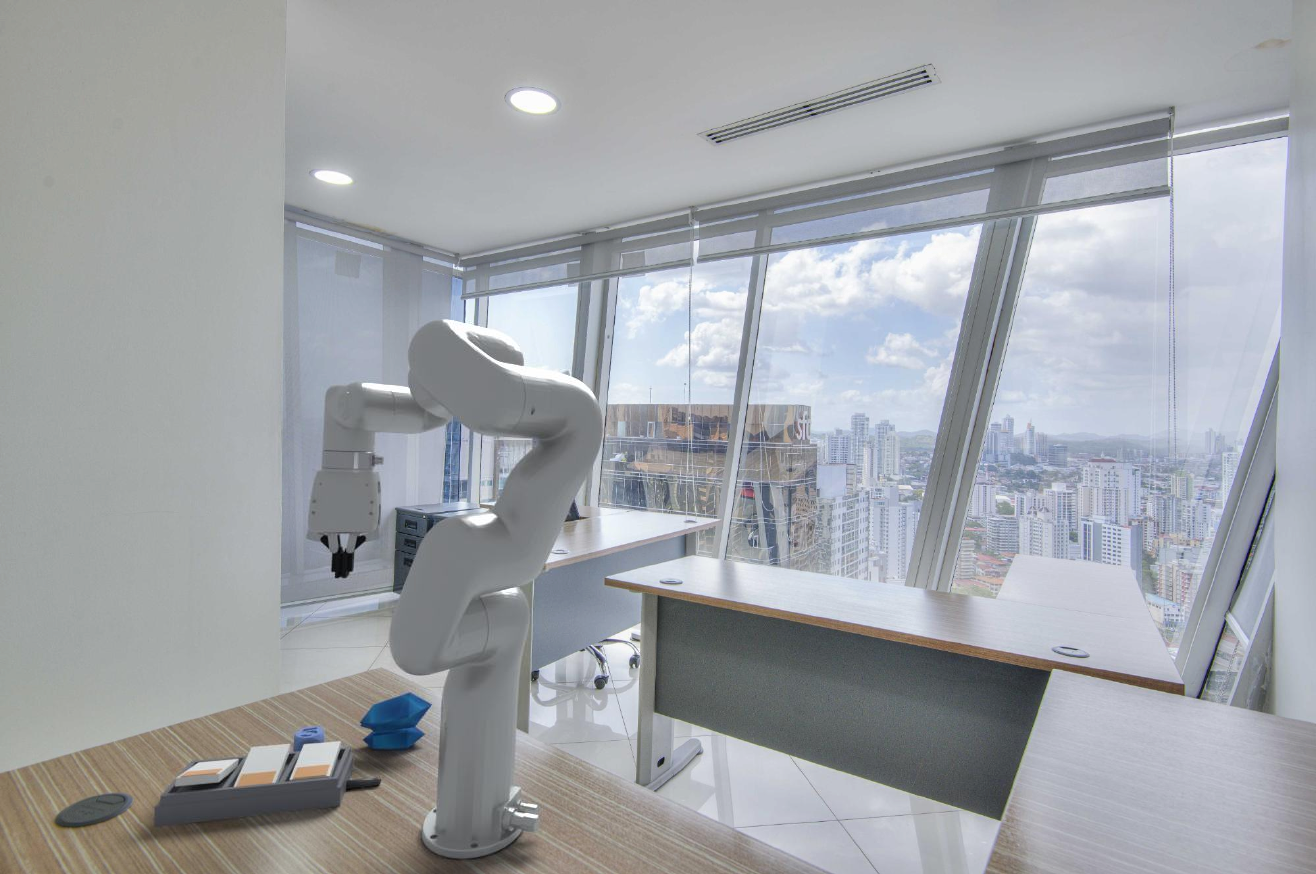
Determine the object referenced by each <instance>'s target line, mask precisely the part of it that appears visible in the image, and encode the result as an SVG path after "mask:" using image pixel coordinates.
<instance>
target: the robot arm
mask: <svg viewBox="0 0 1316 874" xmlns="http://www.w3.org/2000/svg"><path fill="white" fill-rule="evenodd" d="M407 359H408V366H409V370H408V373H407V384H408V385H407V386H403V385H394V384H385V383H384V384H383V383H375V382H365V381H362V382H361V381H358V382H352V383H349V384H345V385H344V384H341V385H340V384H337V385H333V386H329V387H328V389H327V390H326V392H325V394H324V410H323V411H324V412H323V429H322V430H323V433H322V446H321V447H322V449H321V451H322V452H321V469H318V470H316V472H315V475H314V480H313V483H312V488H311V495H310V499H309V500H310V501H309V507H308V514H307V528H308V530H307V532H306V536H305V537H306V539H307V540H308V541H314V542H319V543H322V544H323V546H325V547H326V548H327V549H328V550H329V552H330V553H331V565H330V567H331V568H330V569H331V571H330V572H331V573H334V579H340V578H341V579H347V578H348V577H349V576H350V573H352V572H354V567H355V551H356V550H357V549H358V548H359V547H360V546H362V545H363V544H364V543H366V542H368V543H369V542H372V541H377V540H379V539H380V538H381V536H382V534H381V529H380V526H381V521H382V489H381V479H380V478H381V477H380V472H379V471H375V470H374V468H375V467H376V466H379V465H381V466H382V465H384V459H385V458H384V456H379V455H377V454H376V452H375V446H376V433H386V434H387V433H390V434H391V433H392V434H409V435H412V434H417V435H418V434H423V433H427V432H430V431H433V430H436V429H439V428H442V427H444V426H447V425H448V424H449V423H451V422H452V420H453V419H454V418H455V420H456V421H458V422H459V423H460V424H462V426H464V427H465V428H466V429H468V430H470V431H472V432H474V433H477V434H478V435H481V436H486V437H494V438H514V439H517V438H518V439H533V440H534V439H536V444H535V445H534V447H532V449H531V450H529V451H528V452H527V453H526V454H525V455H524V456H522V458H521V459H519V461H518V462H517V463H516V464H515V466H514V467H513V468H512V470H511V471H510V472H509V474H508V475H507V477H506V479H505V482H504V484H503V487H502V490H501V492H500V494H499V496H498V498H497V500H496V502H495V503H494V504H493V506H492V507H491V509H488V510H486V511H484V512H478V513H477V512H476V513H464V514H458V515H451V516H449V517H446V518H444V519H442V520H440V521H438V522H437V523H436V524H434V525H433V526H432V527H431V528H430V529H429V530H428V532H427V533H426V534H425V536H424V537H423V538H422V540H421V542H420V545H419V546H418V548H417V551H416V553H415V555H414V558H413V562H412V564H411V566H410V569H409V572H408V574H407V575H406V579H405V581H404V584H403V587H402V590H401V591H400V595H399V597H398V600H397V602H396V605H395V608H394V610H393V613H392V617H391V622H390V625H389V635H388V636H389V637H388V643H389V650H390V654H391V657H392V660H393V661H394V663H395V664H396V665H397V667H398V668H399V669H400V670H401V671H403V672H404V673H406V674H409V675H410V676H411V675H412V676H419V677H420V676H430V675H434V674H439V673H442V672H445V671H448V672H447V675H446V678H445V681H444V684H443V689H442V693H441V704H440V705H441V706H440V722H439V723H440V727H439V745H438V746H439V748H438V766H437V767H438V769H437V784H436V785H437V786H436V787H437V789H436V806H435V807H433V808H432V809H431V810H430V811H429V812H428V814H427V815H426V816H425V818H424V820H423V822H422V826H421V827H422V828H421V838H422V842H423V843H424V845H425V847H427V849H429V850H430V851H431V852H433V853H435V854H436V855H439V856H442V857H445V858H451V859H473V858H480V857H484V856H488V855H491V854H493V853H496V852H498V851H500V850H502V849H505V848H506V847H507V846H509V845H510V844H511V843H512V842H514V841H515V839H517V838H518V837H519V836H520V834H521V833H522V831H524V832H529V833H534V834H537V833H538V831H539V828H540V826H541V821H542V820H541V815H540V814H539V811H540V805H539V804H537V803H532V802H530V803H528V802H524V800H523V799H521V798H522V797H521V796H522V795H521V794H522V787H521V786H516V785H515V770H516V769H515V768H516V765H515V764H516V748H517V746H516V744H517V743H516V742H517V726H518V725H517V724H518V706H519V688H520V675H521V665H522V660H523V659H522V658H523V654H524V649H525V644H526V641H527V637H528V632H529V628H530V627H529V626H530V619H531V618H530V617H531V613H530V612H531V610H530V606H529V601H528V599H527V596H526V594H525V593H524V592H523V590H522V589H521V587H522V586H525V585H528V584H529V583H531V582H533V581H534V580H535V579H537V578H538V577H539V576H540V573H541V572H542V571H543V569H544V568H545V566H546V564H547V561H548V559H549V557H550V554H551V553H552V550H553V549H554V545H555V543H556V541H557V539H558V537H559V535H560V533H561V530H562V528H563V526H564V524H565V521H566V520H567V517H568V514H569V513H570V509H571V507H572V505H573V503H574V501H575V499H576V497H577V494H578V493H579V491H580V490H581V488H582V486H583V484H584V482H585V481H586V478H587V477H588V475H589V473H590V471H591V469H592V468H593V466H594V464H595V462H596V460H597V457H598V455H599V451H600V449H601V445H602V440H603V436H604V435H603V434H604V424H603V415H602V410H601V407H600V404H599V401H598V399H597V397H596V395H595V394H594V392H593V391H592V390H591V389H590V388H589V386H587V385H586V384H585V383H584V382H582V381H581V380H579V379H578V378H576V377H573V376H570V375H567V374H565V373H561V372H557V371H554V370H547V369H542V368H536V367H529V366H526V365H525V359H524V354H523V351H522V350H521V347H520V346H519V345H518V344H517V343H516V341H514V339H513V338H511V337H510V336H509V335H506V334H505V333H502V332H501V331H498V330H495V329H491V328H487V327H482V326H479V325H473V324H470V323H465V322H461V321H458V320H457V321H456V320H452V319H448V318H447V319H443V318H442V319H435V320H432V321H429V322H427V323H425V324H424V325H423V326H421V327H420V328H419V329H418V330H417V331H415V334H414V335H413V337H412V339H411V341H410V343H409V347H408V351H407ZM524 365H525V366H524ZM342 534H343V535H345V534H348V538H347V544H346V547H345V548H343V547H344V546H342V539H341V535H342Z"/></svg>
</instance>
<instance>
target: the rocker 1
mask: <svg viewBox="0 0 1316 874" xmlns="http://www.w3.org/2000/svg"><path fill="white" fill-rule="evenodd" d="M238 761H239V759H232V760H220V761H209V762H199V763H197V764H196V765H194V766H193V767H191V768H190V769H188V770H187V771H185V772H184V773H183V774H181V775H180V776H177V777H176V778H175V779H176V782H175V786H185V785H195V784H206V783H216V782H220V781H221V780H222V779H223V778H225V777H226V776H228V774H229V773H231V772H232V771H233V770H234V769H236V768H237V767H238Z"/></svg>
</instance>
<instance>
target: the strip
mask: <svg viewBox="0 0 1316 874" xmlns="http://www.w3.org/2000/svg"><path fill="white" fill-rule="evenodd" d="M300 753H301V751H297V752H293V751H290V752H289V755H288V758H287V760H286V763H285V766H284V768H283V771H282V773H281V776H280V779H279V781H278V783H268V784H258V785H248V786H238V787H234V785H235V783H236V780H237V778H238V776H239V774H240V772H241V769H242V767H243V765H244V763H245V761H246V759H247V756H248V755H240V756H232V757H220V758H219V757H218V758H207V759H206V758H205V759H195V760H191V761H190V762H189V763H188V764H187V765H186V766H185V767H184V768H183V770H182V771H181V772H179V774H178V776H180V775H181V774H183V773H184V772H185V771H187V770H188V769H190V768H191V767H193V766H194V765H196V764H197V763H199V762H209V761H220V760H232V759H239V761H238V767H237V768H236V769H234V770H233V771H232V772H231V773H229V774H228V776H226V777H225V778H223V779H222V780H221V781H220V782H216V783H206V784H195V785H185V786H175V782H176V778H175V779H174V780H173V781H172V782H171V783H170V784H169V786H168V787H167V788H166V789H165V790H164V791H163V792H162V793H161V795H160V796H159V797H160V798H159V799H160V800H159V801H158V803H156V805H155V806H154V816H153V818H154V819H153V827H154V828H155V827H163V826H164V827H165V826H173V825H180V824H181V825H182V824H191V823H192V824H193V823H199V822H211V821H218V820H220V821H221V820H227V819H235V818H236V819H237V818H244V817H255V816H262V815H263V816H264V815H272V814H280V813H282V814H283V813H291V812H300V811H307V810H317V809H326V808H334V807H341V805H342V802H343V799H344V796H345V794H346V790H347V789H353V788H361V787H372V786H379V785H380V784H381V783H382V778H381V777H379V776H378V777H365V778H357V779H351V777H352V775H353V773H354V758H355V757H354V756H355V754H351V746H346V747H345V746H343V747H342V746H341V748H340V751H339V754H338V758H337V761H336V764H335V767H334V770H333V773H332V776H331V777H328V778H318V779H308V780H298V781H289V780H290V777H291V775H292V772H293V770H294V767H295V765H296V763H297V760H298V758H299V755H300ZM178 776H177V777H178Z"/></svg>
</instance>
